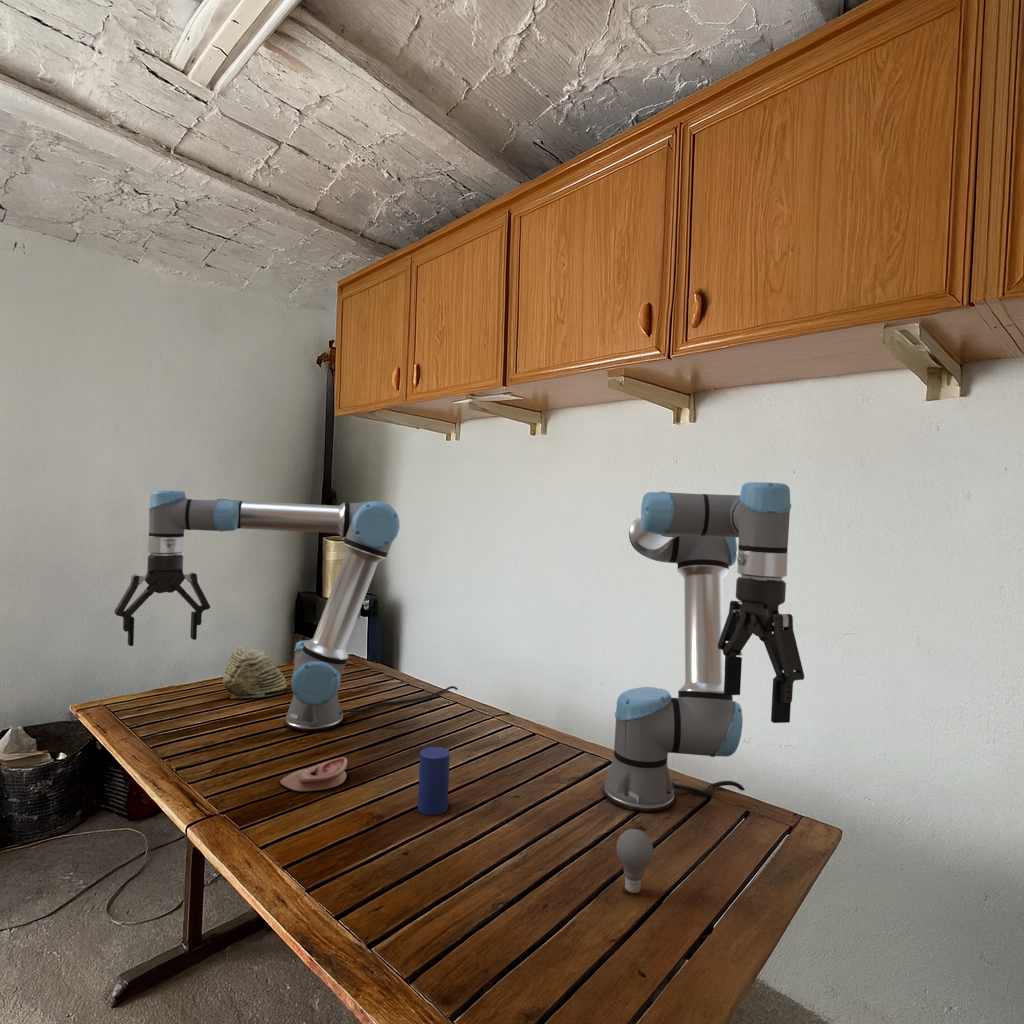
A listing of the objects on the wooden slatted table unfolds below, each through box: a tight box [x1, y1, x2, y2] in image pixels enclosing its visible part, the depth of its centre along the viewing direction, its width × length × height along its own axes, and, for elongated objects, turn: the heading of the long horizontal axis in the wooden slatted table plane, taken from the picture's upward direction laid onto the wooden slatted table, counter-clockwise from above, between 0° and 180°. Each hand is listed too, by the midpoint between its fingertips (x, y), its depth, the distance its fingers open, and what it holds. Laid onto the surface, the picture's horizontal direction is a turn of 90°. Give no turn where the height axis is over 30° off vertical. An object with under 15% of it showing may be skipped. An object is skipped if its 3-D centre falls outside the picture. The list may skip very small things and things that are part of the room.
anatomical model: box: [279, 756, 348, 792], centre depth 141 cm, size 13×4×12 cm
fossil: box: [222, 646, 288, 699], centre depth 198 cm, size 9×18×15 cm, turn 132°
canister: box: [417, 746, 451, 816], centre depth 131 cm, size 6×6×12 cm
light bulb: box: [615, 828, 654, 894], centre depth 106 cm, size 6×6×10 cm
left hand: (162, 641), depth 153 cm, fingers open, 13 cm apart
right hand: (754, 707), depth 103 cm, fingers open, 13 cm apart
